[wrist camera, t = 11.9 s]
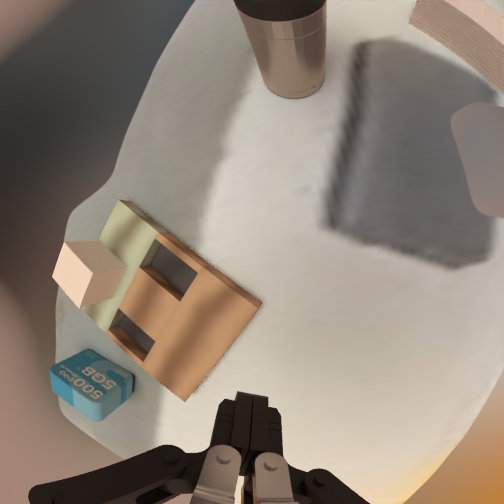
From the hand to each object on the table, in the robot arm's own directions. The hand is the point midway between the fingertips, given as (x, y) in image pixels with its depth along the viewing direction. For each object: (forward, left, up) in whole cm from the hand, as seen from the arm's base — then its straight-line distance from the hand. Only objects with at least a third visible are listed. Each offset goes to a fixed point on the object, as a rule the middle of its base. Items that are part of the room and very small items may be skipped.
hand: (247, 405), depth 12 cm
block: (-11, -26, -23) cm, 36 cm away
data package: (+7, -36, -26) cm, 45 cm away
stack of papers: (-30, +50, -26) cm, 64 cm away
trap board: (-4, -20, -26) cm, 33 cm away
